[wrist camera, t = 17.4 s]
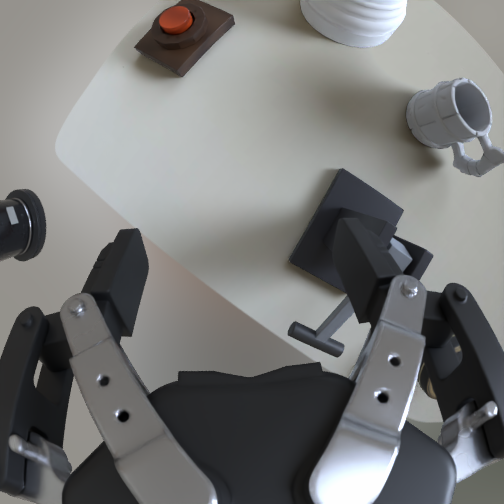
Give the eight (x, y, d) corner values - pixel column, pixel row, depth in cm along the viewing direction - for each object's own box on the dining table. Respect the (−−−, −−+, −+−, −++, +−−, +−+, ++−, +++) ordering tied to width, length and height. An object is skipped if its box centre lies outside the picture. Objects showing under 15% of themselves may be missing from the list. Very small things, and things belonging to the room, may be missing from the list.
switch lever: (335, 346, 26) (335, 364, 24) (288, 324, 26) (286, 342, 24) (417, 255, 20) (426, 269, 18) (368, 220, 20) (374, 233, 18)
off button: (178, 39, 24) (174, 32, 22) (157, 29, 23) (152, 22, 21) (199, 18, 23) (195, 11, 21) (178, 9, 22) (173, 2, 21)
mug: (429, 86, 26) (482, 58, 14) (470, 163, 28) (530, 162, 16) (392, 105, 27) (444, 75, 16) (437, 188, 29) (499, 193, 17)
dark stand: (350, 293, 33) (392, 353, 19) (288, 259, 32) (302, 309, 19) (399, 209, 30) (469, 226, 17) (339, 168, 30) (389, 157, 16)
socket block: (182, 77, 28) (172, 65, 24) (140, 53, 27) (127, 41, 23) (235, 23, 26) (231, 7, 22) (190, 3, 25) (182, -12, 21)
